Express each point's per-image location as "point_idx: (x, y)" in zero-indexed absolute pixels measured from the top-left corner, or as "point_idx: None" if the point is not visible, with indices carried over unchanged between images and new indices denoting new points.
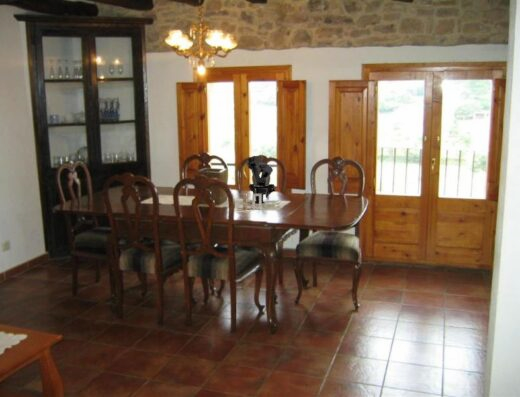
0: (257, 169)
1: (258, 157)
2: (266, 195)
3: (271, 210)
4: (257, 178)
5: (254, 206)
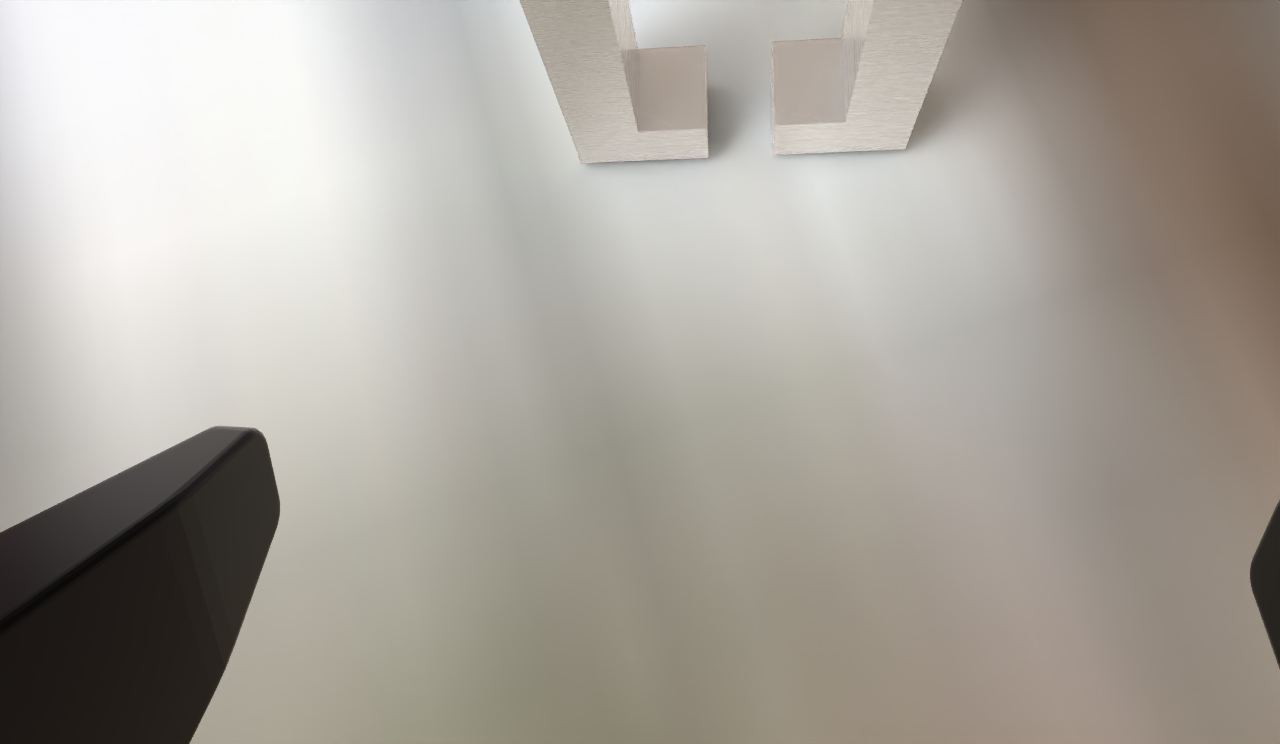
0: None
1: None
2: (142, 483)
3: (247, 376)
4: None
5: (854, 29)
